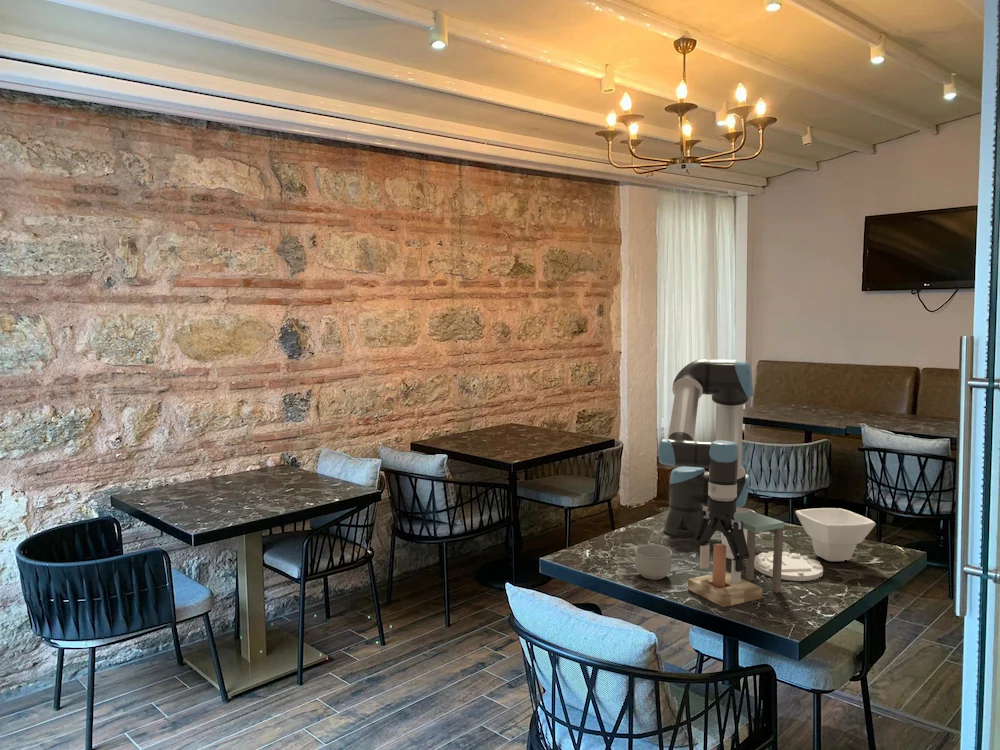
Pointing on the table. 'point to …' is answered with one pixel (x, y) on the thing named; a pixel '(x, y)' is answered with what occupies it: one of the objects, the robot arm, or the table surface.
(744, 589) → the socket block
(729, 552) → the jar
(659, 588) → the table surface
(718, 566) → the peg
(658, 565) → the teacup
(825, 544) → the bowl
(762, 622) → the table surface
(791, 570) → the white round plaque
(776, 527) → the green-topped stool
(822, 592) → the table surface
